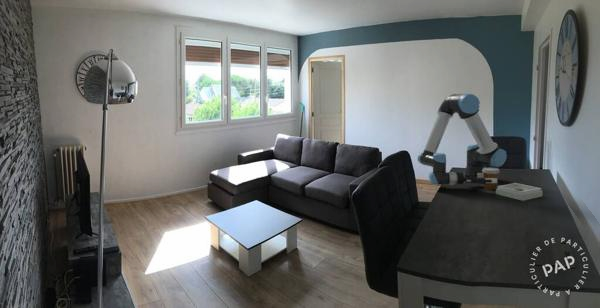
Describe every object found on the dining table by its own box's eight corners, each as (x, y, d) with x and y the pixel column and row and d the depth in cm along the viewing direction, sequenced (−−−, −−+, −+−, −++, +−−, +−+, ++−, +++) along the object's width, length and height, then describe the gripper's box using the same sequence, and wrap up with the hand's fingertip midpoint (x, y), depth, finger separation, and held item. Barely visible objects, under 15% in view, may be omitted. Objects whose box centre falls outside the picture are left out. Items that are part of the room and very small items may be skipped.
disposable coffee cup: (494, 186, 217) (495, 167, 216) (501, 190, 208) (502, 170, 206) (478, 186, 218) (479, 167, 216) (485, 190, 209) (486, 170, 207)
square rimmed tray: (514, 189, 207) (514, 182, 206) (542, 196, 193) (542, 188, 192) (495, 193, 201) (496, 186, 200) (522, 200, 186) (523, 192, 186)
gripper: (450, 179, 228) (484, 179, 225) (461, 189, 204) (500, 189, 200) (450, 168, 227) (485, 167, 223) (461, 176, 202) (501, 176, 199)
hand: (492, 178), depth 212 cm, fingers open, 13 cm apart
